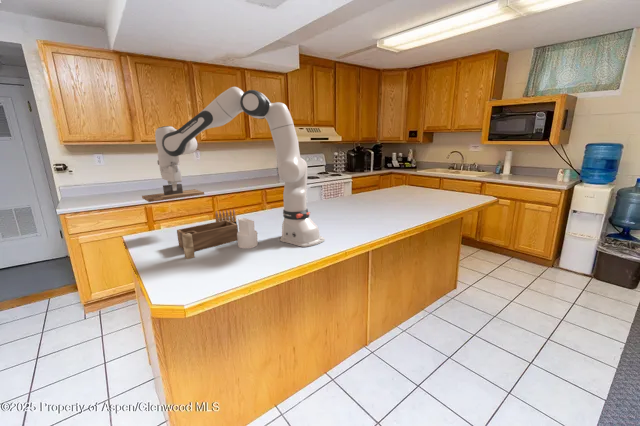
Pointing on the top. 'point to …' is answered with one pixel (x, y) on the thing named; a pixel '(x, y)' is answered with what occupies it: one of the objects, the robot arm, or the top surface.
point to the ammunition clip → (226, 216)
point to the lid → (172, 193)
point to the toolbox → (210, 234)
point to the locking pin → (188, 246)
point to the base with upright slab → (246, 234)
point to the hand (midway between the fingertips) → (173, 190)
